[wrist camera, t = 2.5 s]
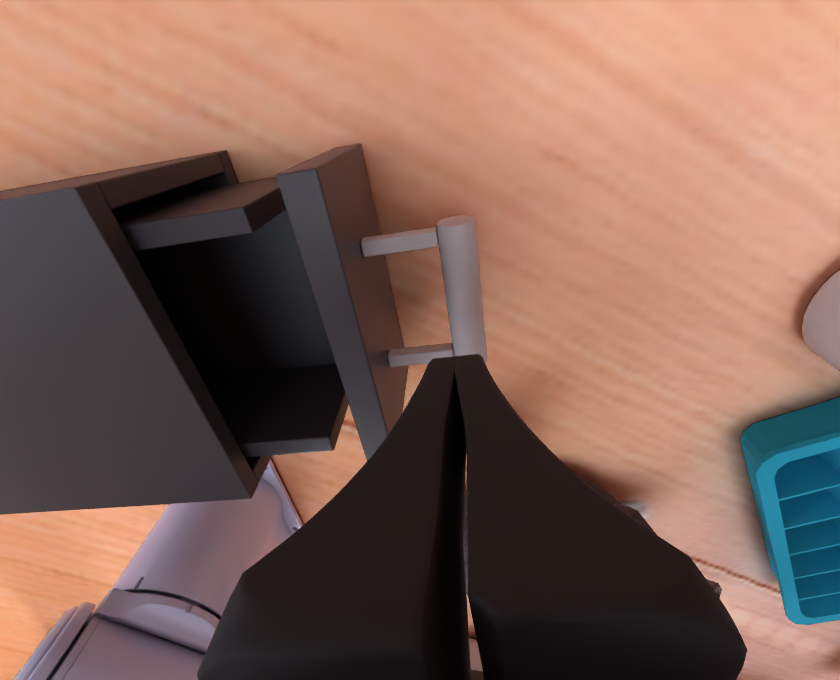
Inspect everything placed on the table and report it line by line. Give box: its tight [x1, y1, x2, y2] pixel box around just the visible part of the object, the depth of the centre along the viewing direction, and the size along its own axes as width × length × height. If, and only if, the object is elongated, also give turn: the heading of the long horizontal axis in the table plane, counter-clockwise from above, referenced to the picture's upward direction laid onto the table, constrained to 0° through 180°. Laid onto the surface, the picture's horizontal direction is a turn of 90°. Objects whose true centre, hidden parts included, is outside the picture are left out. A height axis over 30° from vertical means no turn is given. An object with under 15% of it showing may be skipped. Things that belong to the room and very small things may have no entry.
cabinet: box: [0, 150, 272, 514], centre depth 18 cm, size 14×13×9 cm
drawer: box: [111, 144, 487, 461], centre depth 17 cm, size 17×11×7 cm
